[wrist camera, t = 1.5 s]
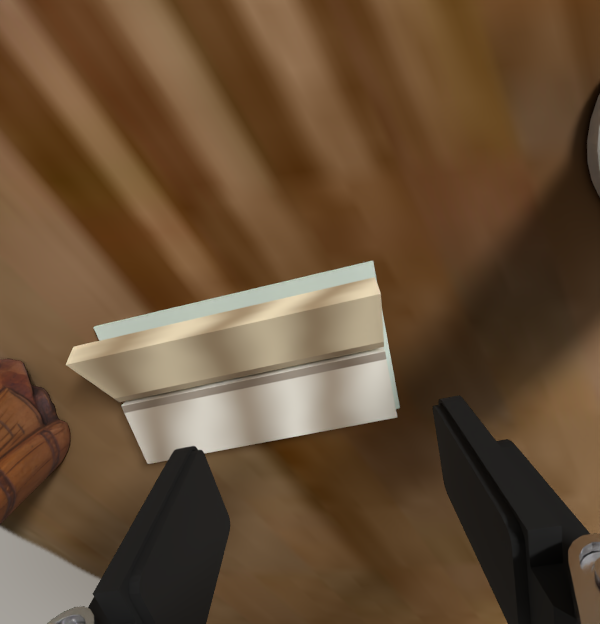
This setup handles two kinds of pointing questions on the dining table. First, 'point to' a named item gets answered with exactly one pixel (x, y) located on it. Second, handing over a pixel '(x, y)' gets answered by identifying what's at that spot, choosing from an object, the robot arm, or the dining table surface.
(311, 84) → the dining table surface
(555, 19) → the dining table surface
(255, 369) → the plank
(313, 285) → the underlay
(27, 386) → the wooden figurine
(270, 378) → the laid board
